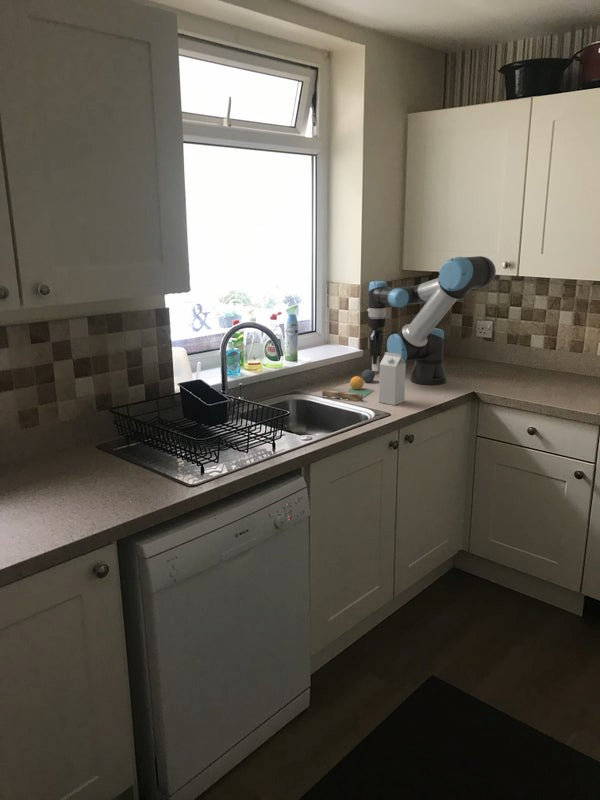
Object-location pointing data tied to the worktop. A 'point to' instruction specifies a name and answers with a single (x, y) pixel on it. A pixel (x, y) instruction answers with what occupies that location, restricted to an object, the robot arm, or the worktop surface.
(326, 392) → the rail
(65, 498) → the worktop surface
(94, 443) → the worktop surface
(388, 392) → the milk carton
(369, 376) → the dark gray ball
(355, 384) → the object ball
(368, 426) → the worktop surface
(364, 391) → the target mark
